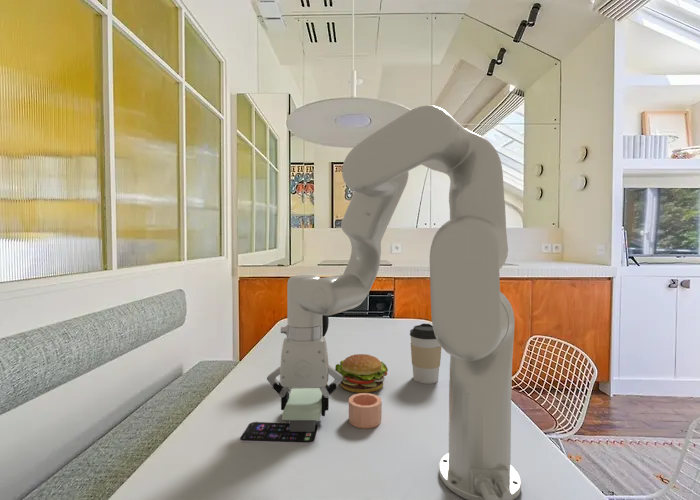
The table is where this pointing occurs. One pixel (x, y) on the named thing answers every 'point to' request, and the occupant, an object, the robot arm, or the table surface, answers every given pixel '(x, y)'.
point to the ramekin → (365, 410)
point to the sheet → (303, 405)
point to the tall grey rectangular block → (302, 425)
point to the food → (362, 373)
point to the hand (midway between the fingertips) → (305, 412)
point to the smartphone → (276, 433)
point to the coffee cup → (425, 354)
